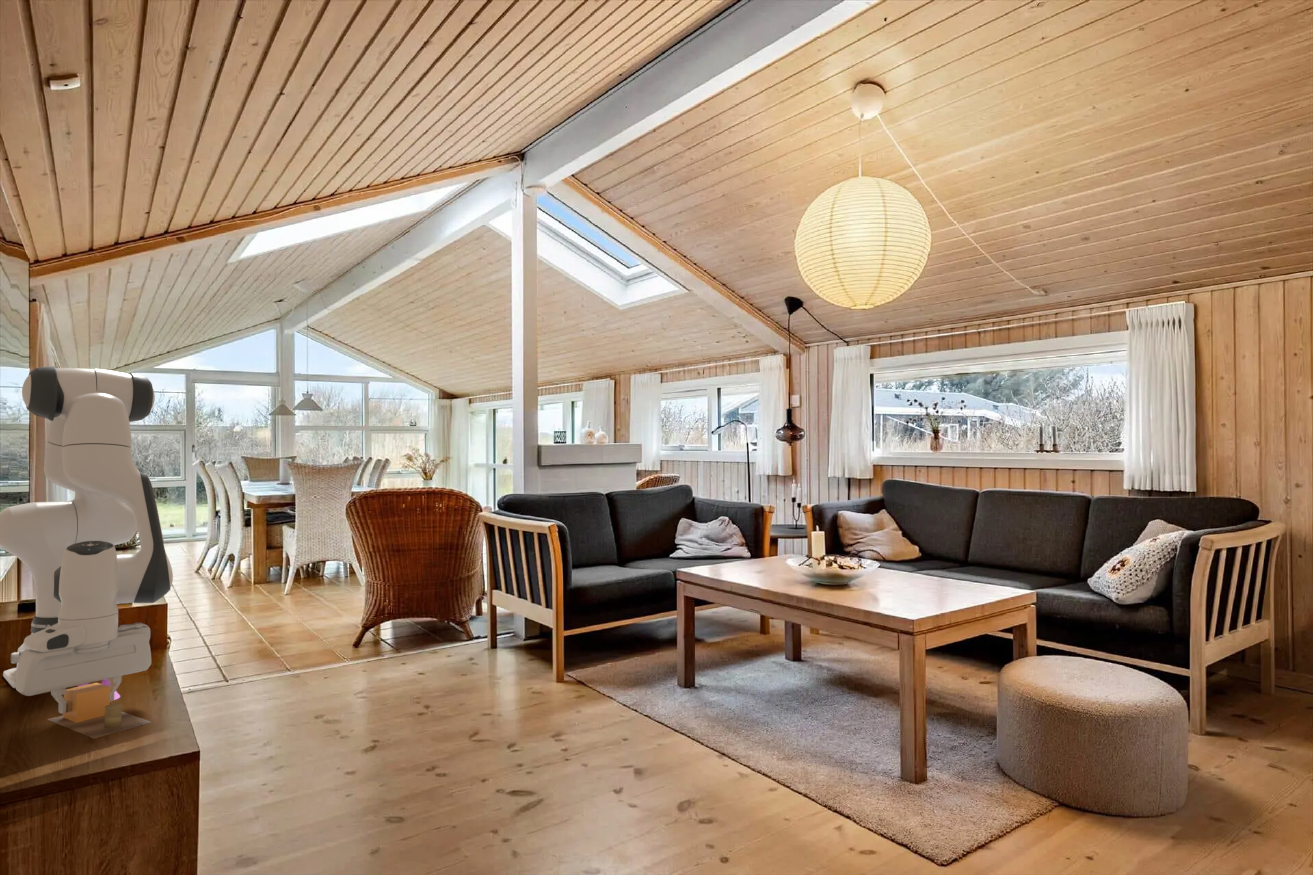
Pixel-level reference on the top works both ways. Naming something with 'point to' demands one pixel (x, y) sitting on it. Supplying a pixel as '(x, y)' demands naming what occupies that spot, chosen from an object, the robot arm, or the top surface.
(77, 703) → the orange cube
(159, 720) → the top surface
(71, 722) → the peg board
